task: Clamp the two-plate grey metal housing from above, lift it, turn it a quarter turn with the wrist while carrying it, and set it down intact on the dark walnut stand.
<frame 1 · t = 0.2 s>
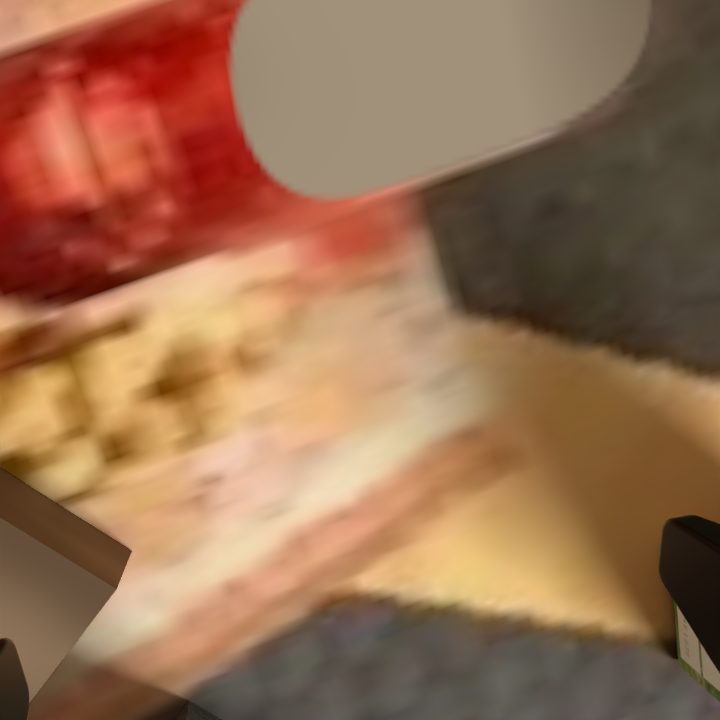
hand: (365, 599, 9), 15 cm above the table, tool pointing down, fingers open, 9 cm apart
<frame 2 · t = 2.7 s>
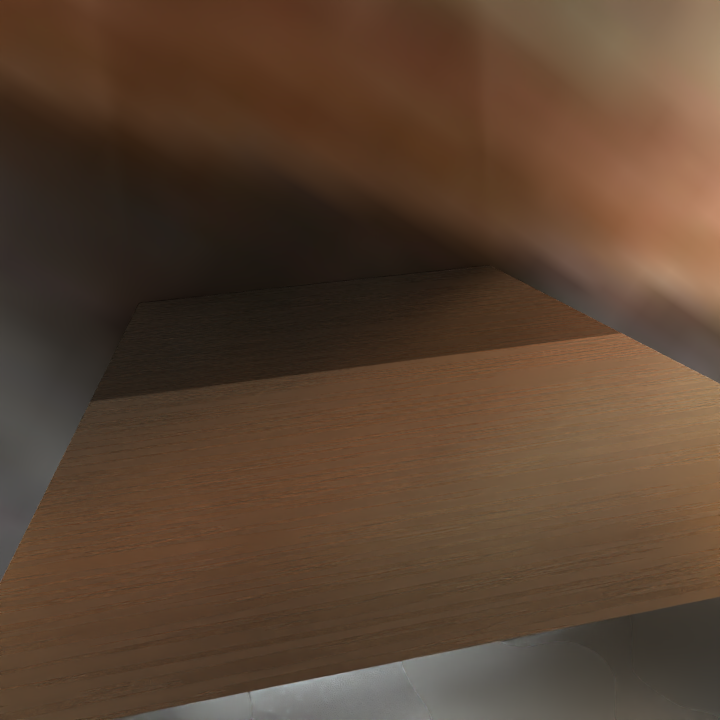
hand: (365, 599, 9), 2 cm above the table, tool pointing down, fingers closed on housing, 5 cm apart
housing: (342, 524, 11), on the table, touching gripper
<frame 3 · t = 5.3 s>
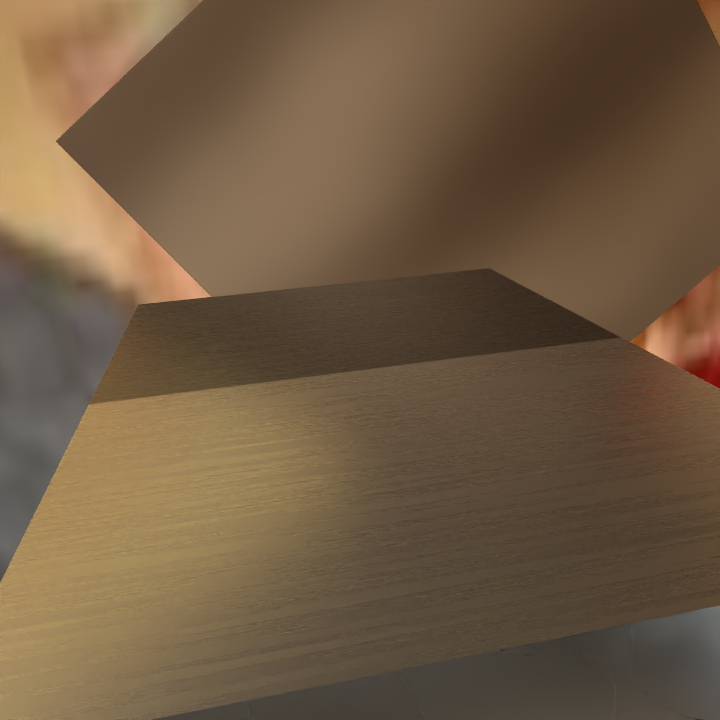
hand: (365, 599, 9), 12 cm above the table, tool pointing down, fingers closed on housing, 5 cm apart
housing: (341, 526, 11), point 10 cm above the table, touching gripper
stand: (437, 167, 20), on the table
when the fingers open (6 cm above the table, at t = 7.7 s): housing drops 1 cm, resting on stand.
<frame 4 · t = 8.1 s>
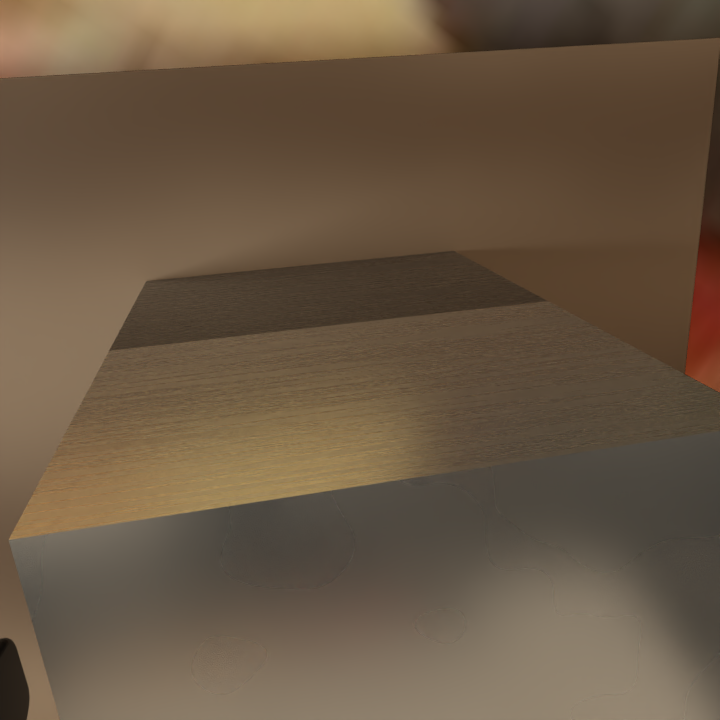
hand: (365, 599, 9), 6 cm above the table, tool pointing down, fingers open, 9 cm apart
housing: (325, 481, 12), point 3 cm above the table, touching stand
stand: (312, 414, 15), on the table
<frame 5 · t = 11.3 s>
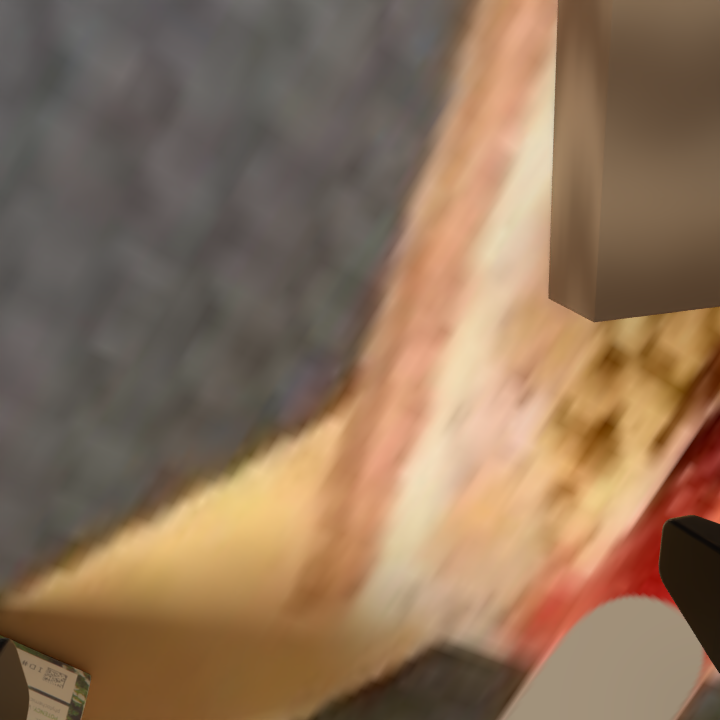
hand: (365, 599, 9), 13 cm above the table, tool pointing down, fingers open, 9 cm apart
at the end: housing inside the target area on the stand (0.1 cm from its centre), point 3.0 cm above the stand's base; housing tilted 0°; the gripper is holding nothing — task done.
